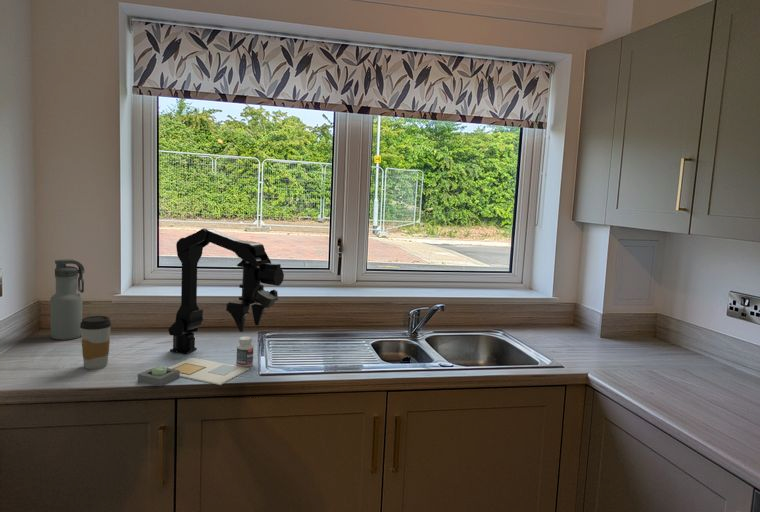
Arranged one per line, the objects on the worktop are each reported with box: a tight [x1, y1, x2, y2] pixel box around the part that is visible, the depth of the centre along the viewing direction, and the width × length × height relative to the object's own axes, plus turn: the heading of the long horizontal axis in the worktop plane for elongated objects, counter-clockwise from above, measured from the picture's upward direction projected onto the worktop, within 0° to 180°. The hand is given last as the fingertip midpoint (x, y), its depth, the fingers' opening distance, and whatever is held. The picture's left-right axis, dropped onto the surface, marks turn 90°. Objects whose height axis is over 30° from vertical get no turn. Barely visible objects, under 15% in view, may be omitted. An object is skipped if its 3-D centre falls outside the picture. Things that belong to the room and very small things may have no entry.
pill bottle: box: [235, 336, 254, 368], centre depth 165 cm, size 5×5×9 cm
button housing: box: [137, 365, 181, 387], centre depth 148 cm, size 8×8×2 cm
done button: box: [151, 365, 168, 376], centre depth 148 cm, size 4×4×2 cm
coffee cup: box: [80, 315, 112, 370], centre depth 155 cm, size 8×8×15 cm
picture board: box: [167, 357, 250, 386], centre depth 157 cm, size 22×15×1 cm
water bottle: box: [49, 258, 85, 341], centre depth 181 cm, size 10×10×28 cm
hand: (249, 328), depth 165 cm, fingers open, 9 cm apart
